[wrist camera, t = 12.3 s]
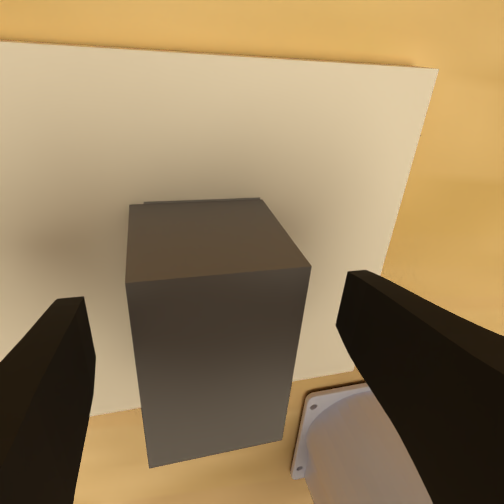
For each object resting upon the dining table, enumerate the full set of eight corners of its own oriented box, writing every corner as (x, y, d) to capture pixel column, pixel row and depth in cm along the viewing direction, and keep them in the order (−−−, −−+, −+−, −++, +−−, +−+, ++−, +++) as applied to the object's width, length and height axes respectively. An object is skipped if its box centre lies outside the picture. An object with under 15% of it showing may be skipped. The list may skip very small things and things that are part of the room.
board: (341, 352, 23) (353, 371, 22) (16, 403, 18) (6, 431, 17) (413, 66, 15) (439, 69, 14) (-128, 31, 10) (-165, 31, 9)
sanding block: (249, 348, 18) (281, 440, 14) (146, 363, 17) (148, 468, 13) (262, 199, 14) (311, 266, 10) (129, 204, 13) (124, 282, 9)
